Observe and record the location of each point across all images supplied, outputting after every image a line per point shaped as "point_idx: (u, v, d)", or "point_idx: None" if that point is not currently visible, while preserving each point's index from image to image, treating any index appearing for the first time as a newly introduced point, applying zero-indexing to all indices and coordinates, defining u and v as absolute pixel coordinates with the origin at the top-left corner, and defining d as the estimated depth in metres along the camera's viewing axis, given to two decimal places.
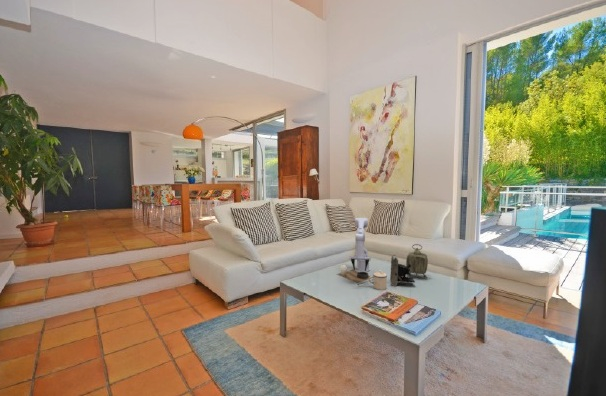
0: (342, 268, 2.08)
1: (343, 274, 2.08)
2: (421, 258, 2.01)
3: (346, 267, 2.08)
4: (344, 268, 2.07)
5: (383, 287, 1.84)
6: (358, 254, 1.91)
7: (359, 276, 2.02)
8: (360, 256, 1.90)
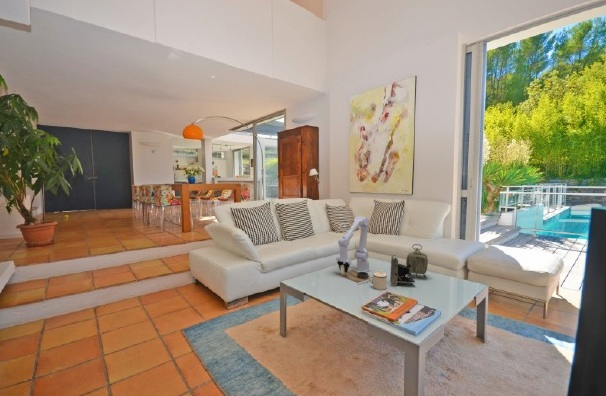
0: (342, 268, 2.08)
1: (343, 274, 2.08)
2: (421, 258, 2.01)
3: None
4: None
5: (383, 287, 1.84)
6: (340, 257, 2.08)
7: (359, 276, 2.02)
8: (341, 259, 2.07)
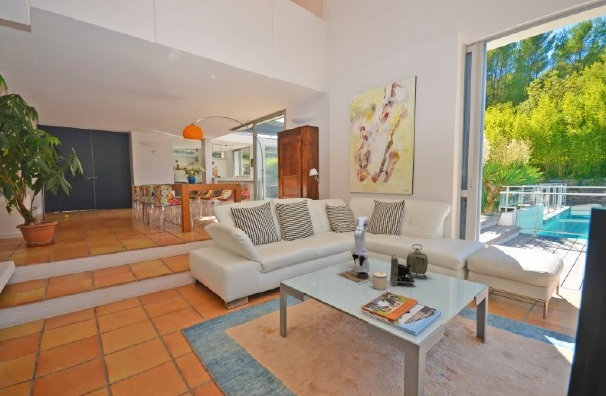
0: (357, 261, 2.03)
1: (358, 267, 2.03)
2: (421, 258, 2.01)
3: None
4: (359, 261, 2.03)
5: (383, 287, 1.84)
6: (355, 250, 2.04)
7: (359, 276, 2.02)
8: (356, 252, 2.03)
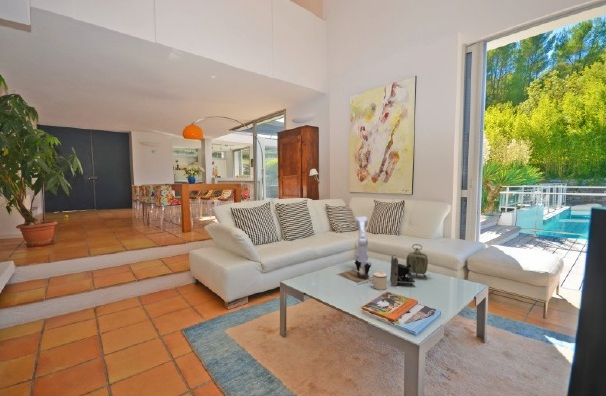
0: (361, 270, 2.03)
1: None
2: (421, 258, 2.01)
3: None
4: (363, 270, 2.02)
5: (383, 287, 1.84)
6: (359, 257, 2.03)
7: (359, 276, 2.02)
8: (360, 260, 2.02)
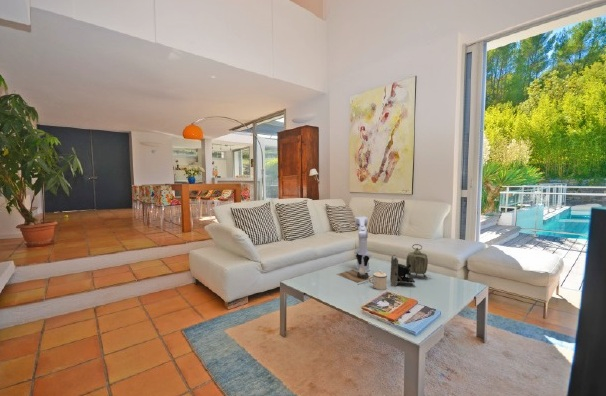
0: (361, 270, 2.03)
1: None
2: (421, 258, 2.01)
3: (365, 269, 2.03)
4: (363, 270, 2.02)
5: (383, 287, 1.84)
6: (359, 250, 2.03)
7: (359, 276, 2.02)
8: (360, 252, 2.02)
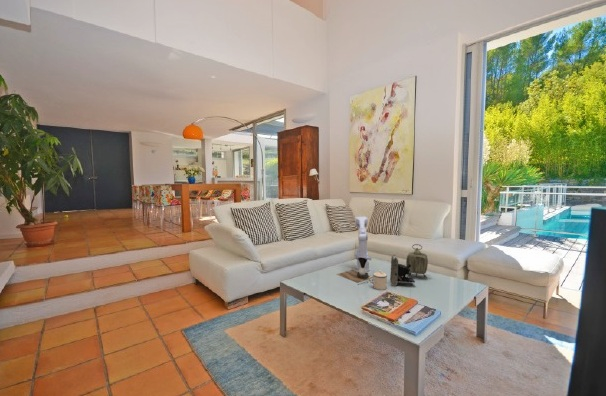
0: (361, 270, 2.03)
1: None
2: (421, 258, 2.01)
3: (365, 269, 2.03)
4: (363, 270, 2.02)
5: (383, 287, 1.84)
6: (359, 253, 2.03)
7: (359, 276, 2.02)
8: (360, 255, 2.02)
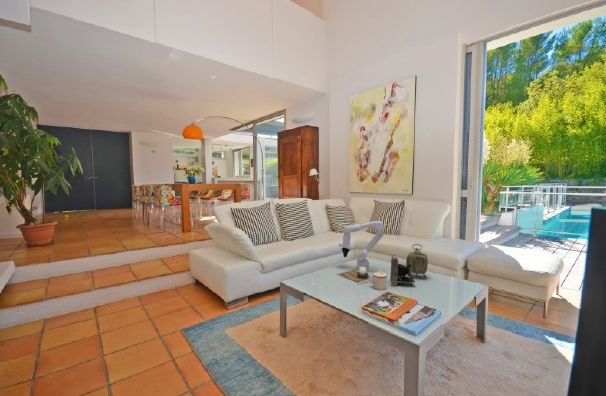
0: (361, 270, 2.03)
1: None
2: (421, 258, 2.01)
3: (365, 269, 2.03)
4: (363, 270, 2.02)
5: (383, 287, 1.84)
6: (343, 243, 2.24)
7: (359, 276, 2.02)
8: (344, 245, 2.23)
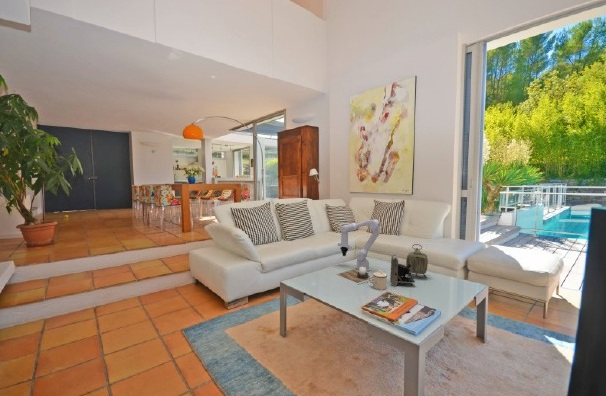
0: (361, 270, 2.03)
1: None
2: (421, 258, 2.01)
3: (365, 269, 2.03)
4: (363, 270, 2.02)
5: (383, 287, 1.84)
6: (341, 242, 2.28)
7: (359, 276, 2.02)
8: (342, 244, 2.27)
